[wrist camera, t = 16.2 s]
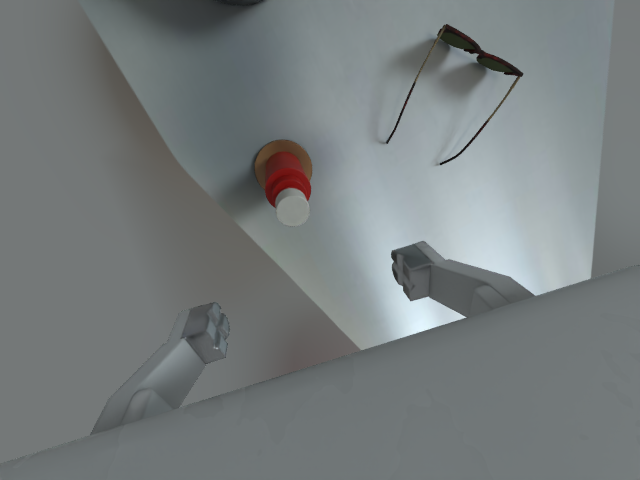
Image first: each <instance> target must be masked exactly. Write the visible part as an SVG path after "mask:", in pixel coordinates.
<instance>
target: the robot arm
mask: <svg viewBox="0 0 640 480" xmlns="http://www.w3.org/2000/svg"><path fill="white" fill-rule="evenodd" d="M391 258H392V259H393V260H394V263H393V264H392V271H393V275H394V277H395V279H396V281H397V283H398V284H399V285H402V286H403V291H404V293H405V294H406V295H407V297H408V298H409V299H410V301H413V300H417V299H421V298H424V297H428V296H429V297H430V298H432V299H434V300H435V301H437V302H439V303H441V304H443V305H445V306H447V307H449V308H450V309H452V310H454V311H456V312H458V313H460V314H462V315H463V316H465V317H467V318H464V319H461V320H458V321H454V322H451V323H448V324H445V325H442V326H438V327H435V328H432V329H429V330H426V331H422V332H419V333H416V334H413V335H410V336H406V337H403V338H400V339H397V340H394V341H390V342H387V343H384V344H381V345H378V346H374V347H371V348H368V349H365V350H362V351H359V352H355V353H352V354H349V355H346V356H342V357H339V358H336V359H333V360H330V361H327V362H323V363H320V364H317V365H314V366H311V367H307V368H305V369H301V370H298V371H295V372H291V373H288V374H285V375H282V376H279V377H276V378H272V379H269V380H266V381H263V382H259V383H256V384H253V385H250V386H247V387H244V388H240V389H237V390H234V391H231V392H227V393H225V394H221V395H218V396H215V397H212V398H208V399H205V400H202V401H199V402H196V403H192V404H189V405H186V406H183V407H180V405H181V404H182V402H183V401H184V399H185V398H186V396H187V394H188V393H189V391H190V390H191V388H192V387H193V385H194V383H195V382H196V380H197V379H198V377H199V376H200V374H201V372H202V371H203V369H204V368H205V366H206V364H208V363H211V362H214V361H217V360H220V359H223V358H226V352H227V345H228V343H227V342H226V338H227V337H228V336H229V332H230V326H229V321H228V318H227V317H226V315H225V314H223V313H221V312H220V309H221V307H220V305H219V304H218V303H217V302H213V303H209V304H206V305H202V306H198V307H194V308H191V309H188V310H184V311H181V312H180V313H179V314H178V317H177V319H176V322H175V324H174V327H173V329H172V332H171V334H170V337H169V339H168V342H167V343H165V344H163V345H162V346H161V347H160V348H159V349H158V350H157V351H156V352H155V353H154V354H153V355H152V356H151V357H150V358H149V359H148V360H147V361H146V362H145V363H144V364H143V365H142V366H141V367H140V368H139V369H138V370H137V371H136V372H135V373H134V374H133V375H132V376H131V377H130V378H129V379H128V380H127V381H126V382H125V383H124V384H123V385H122V386H121V387H120V388H119V389H118V390H117V391H116V392H115V393H114V394H113V395H112V396H111V397H110V398H109V399H108V401H107V403H106V405H105V407H104V409H103V411H102V413H101V415H100V417H99V418H98V420H97V422H96V424H95V426H94V428H93V430H92V432H91V434H90V436H87V437H84V438H81V439H77V440H74V441H71V442H68V443H65V444H62V445H58V446H55V447H52V448H49V449H46V450H42V451H39V452H36V453H33V454H30V455H26V456H24V457H20V458H17V459H14V460H11V461H7V462H4V463H1V464H0V480H640V265H636V266H631V267H627V268H623V269H620V270H617V271H614V272H610V273H608V274H604V275H601V276H598V277H595V278H591V279H588V280H585V281H582V282H579V283H576V284H572V285H569V286H566V287H563V288H560V289H556V290H553V291H550V292H547V293H544V294H541V295H537V296H535V295H534V294H532V293H531V292H530V291H528V290H527V289H525V288H524V287H523V286H521V285H520V284H519V283H517V282H516V281H515V280H513V279H512V278H511V277H509V276H505V275H502V274H498V273H495V272H491V271H488V270H484V269H481V268H478V267H474V266H471V265H467V264H464V263H460V262H457V261H453V260H450V259H448V260H445V259H444V258H443V257H442V256H441V255H439V254H438V253H437V252H436V251H435V250H434V249H433V248H432V247H431V246H429V245H428V244H427V243H426V242H425V241H421V242H418V243H415V244H412V245H409V246H406V247H402V248H399V249H396V250H392V252H391ZM179 407H180V408H179Z"/></svg>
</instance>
